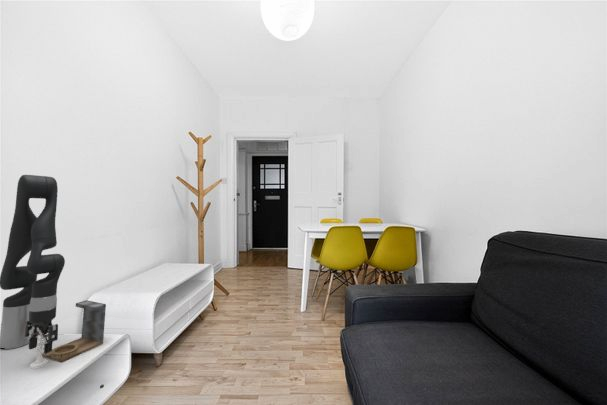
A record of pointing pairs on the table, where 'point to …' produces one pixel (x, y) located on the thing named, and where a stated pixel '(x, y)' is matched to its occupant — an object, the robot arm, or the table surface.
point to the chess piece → (39, 356)
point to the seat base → (83, 333)
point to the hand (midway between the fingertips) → (40, 350)
